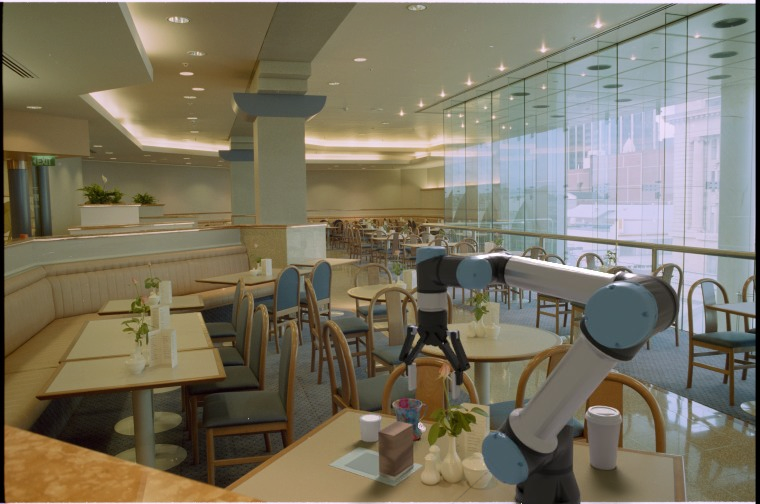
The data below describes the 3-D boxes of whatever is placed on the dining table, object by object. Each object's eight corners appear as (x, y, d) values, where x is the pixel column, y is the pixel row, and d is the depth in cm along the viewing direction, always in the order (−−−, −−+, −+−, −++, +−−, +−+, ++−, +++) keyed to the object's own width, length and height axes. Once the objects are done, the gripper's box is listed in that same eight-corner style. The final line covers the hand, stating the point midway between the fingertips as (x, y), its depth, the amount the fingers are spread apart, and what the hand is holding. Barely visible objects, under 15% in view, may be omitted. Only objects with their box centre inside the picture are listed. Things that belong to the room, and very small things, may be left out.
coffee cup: (581, 468, 158) (582, 414, 157) (587, 454, 167) (587, 402, 165) (619, 475, 154) (620, 419, 152) (623, 460, 162) (624, 407, 161)
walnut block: (413, 467, 160) (412, 424, 159) (394, 480, 152) (394, 435, 151) (398, 462, 163) (397, 420, 162) (379, 475, 155) (378, 431, 154)
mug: (403, 445, 175) (402, 411, 174) (387, 435, 183) (386, 402, 182) (436, 437, 181) (435, 403, 180) (419, 427, 189) (418, 394, 188)
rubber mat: (423, 467, 161) (423, 465, 161) (394, 488, 150) (394, 485, 150) (359, 448, 174) (359, 446, 174) (328, 466, 162) (328, 464, 162)
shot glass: (356, 437, 182) (355, 415, 181) (376, 433, 184) (375, 412, 184) (365, 446, 175) (364, 423, 175) (385, 441, 178) (385, 419, 178)
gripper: (483, 310, 143) (484, 397, 144) (399, 302, 157) (401, 381, 158) (469, 315, 136) (470, 406, 138) (383, 306, 150) (385, 389, 152)
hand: (433, 393), depth 148 cm, fingers open, 12 cm apart
